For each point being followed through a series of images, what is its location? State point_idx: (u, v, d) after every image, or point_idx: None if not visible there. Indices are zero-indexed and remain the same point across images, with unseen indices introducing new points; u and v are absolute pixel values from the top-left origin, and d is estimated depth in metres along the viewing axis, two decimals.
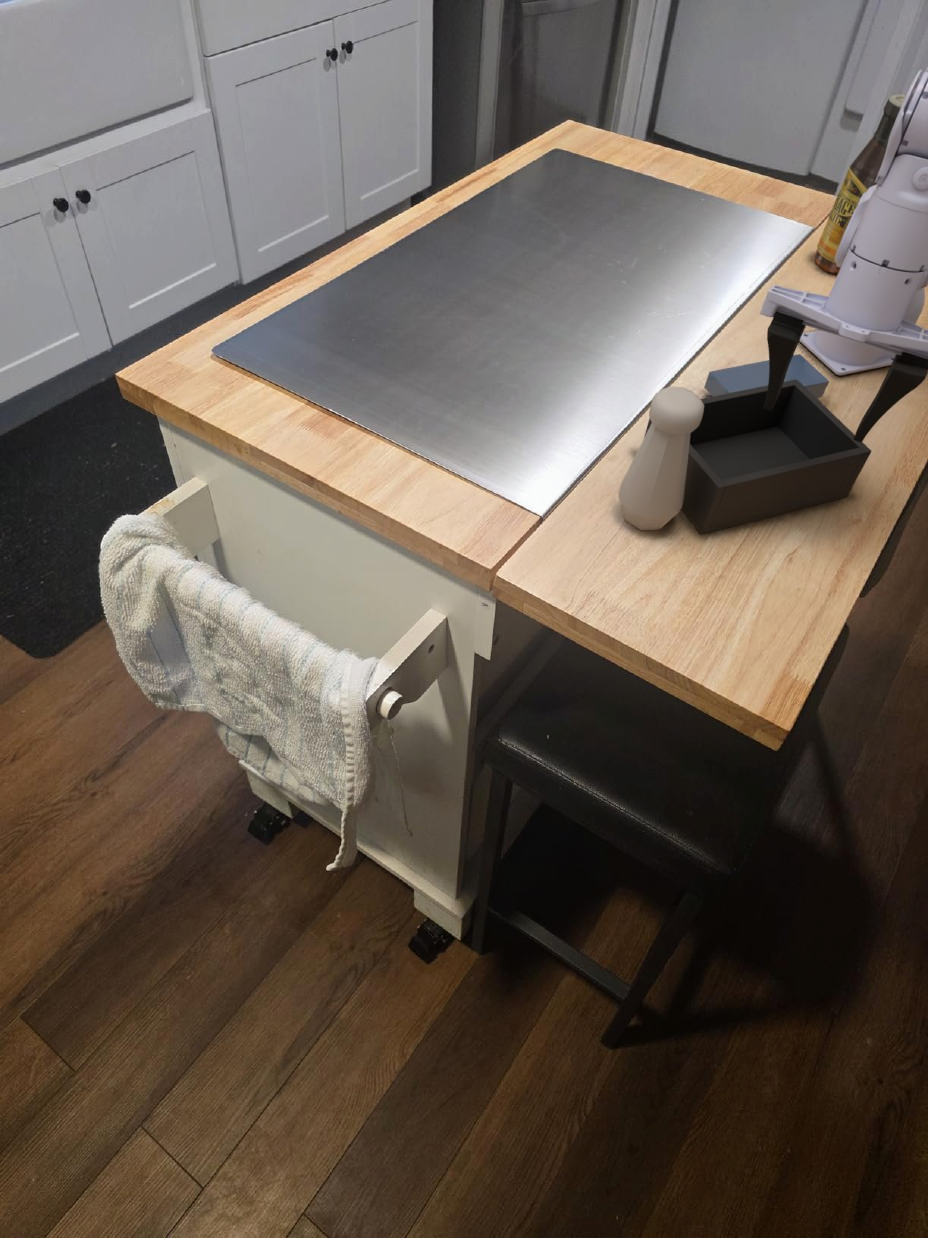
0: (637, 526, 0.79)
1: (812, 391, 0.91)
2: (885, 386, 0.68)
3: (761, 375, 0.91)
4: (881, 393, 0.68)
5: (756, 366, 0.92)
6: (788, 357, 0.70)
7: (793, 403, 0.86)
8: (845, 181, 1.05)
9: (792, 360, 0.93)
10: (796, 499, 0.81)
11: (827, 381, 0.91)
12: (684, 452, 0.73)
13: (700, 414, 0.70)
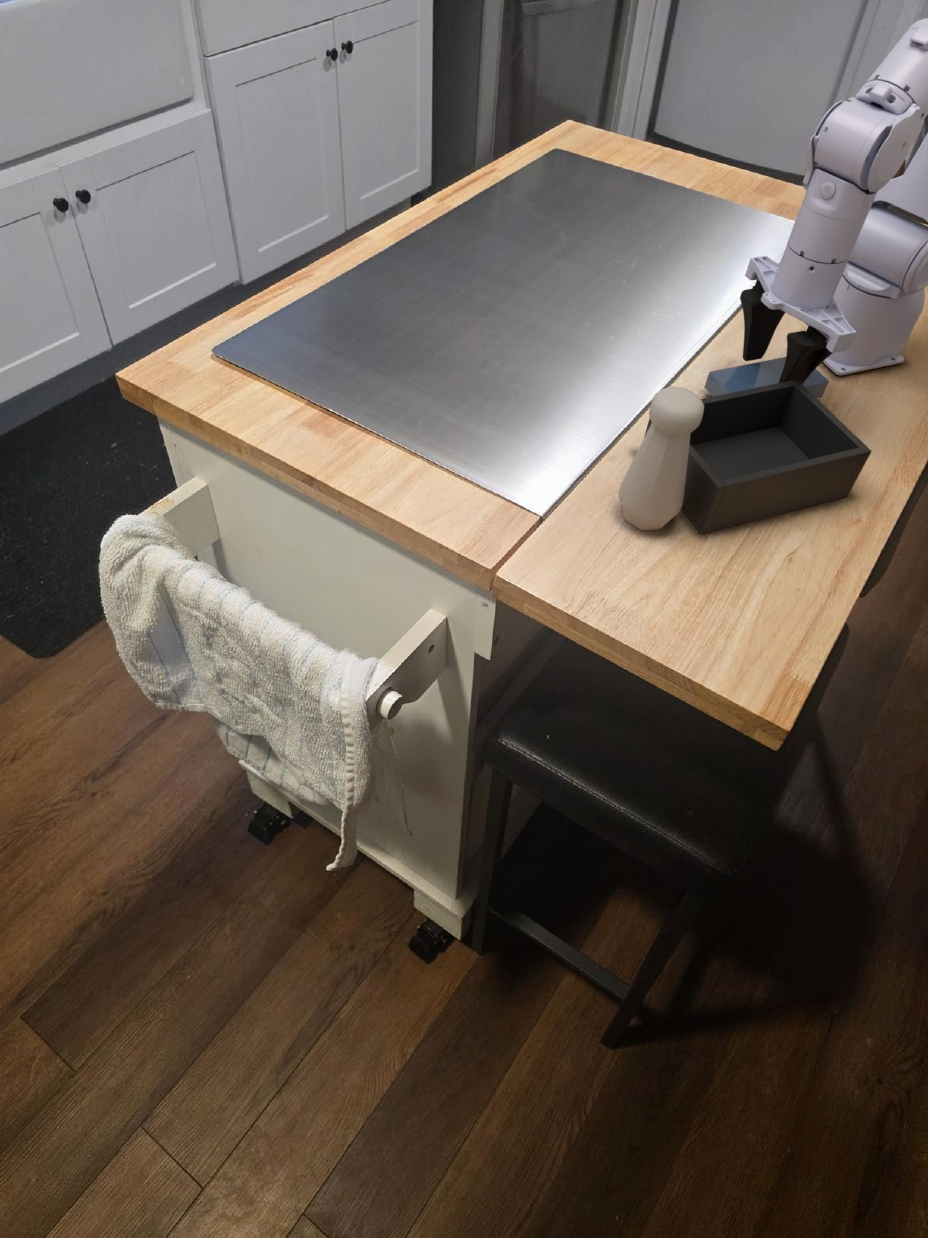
0: (637, 526, 0.79)
1: (812, 391, 0.91)
2: (787, 349, 0.84)
3: (761, 375, 0.91)
4: (787, 354, 0.85)
5: (756, 366, 0.92)
6: (751, 317, 0.88)
7: (793, 403, 0.86)
8: None
9: None
10: (796, 499, 0.81)
11: (827, 381, 0.91)
12: (684, 452, 0.73)
13: (700, 414, 0.70)
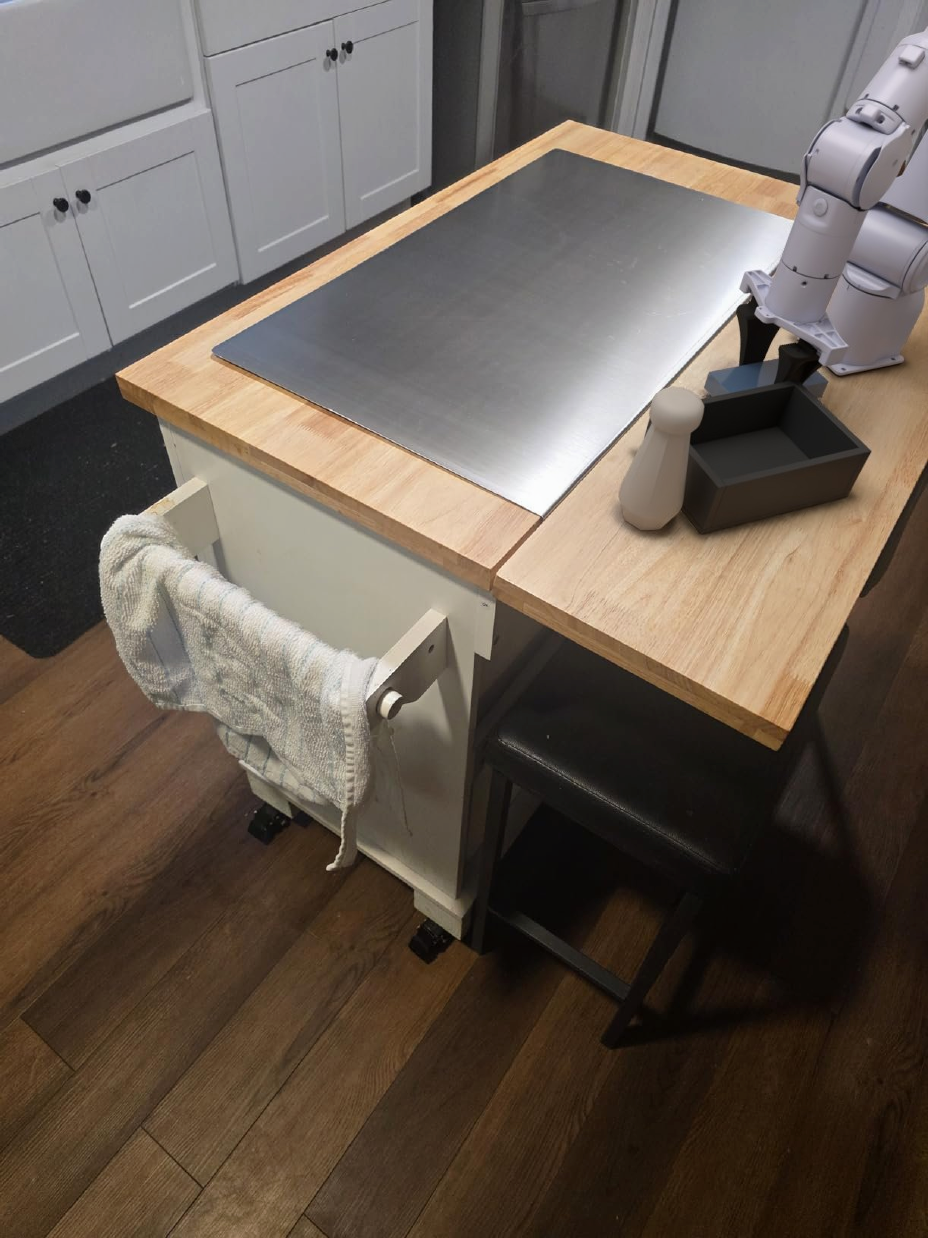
0: (637, 526, 0.79)
1: (812, 391, 0.91)
2: (779, 360, 0.85)
3: (760, 375, 0.91)
4: (778, 366, 0.86)
5: (756, 366, 0.92)
6: (747, 331, 0.89)
7: (793, 403, 0.86)
8: None
9: None
10: (796, 499, 0.81)
11: (827, 381, 0.91)
12: (684, 452, 0.73)
13: (700, 414, 0.70)
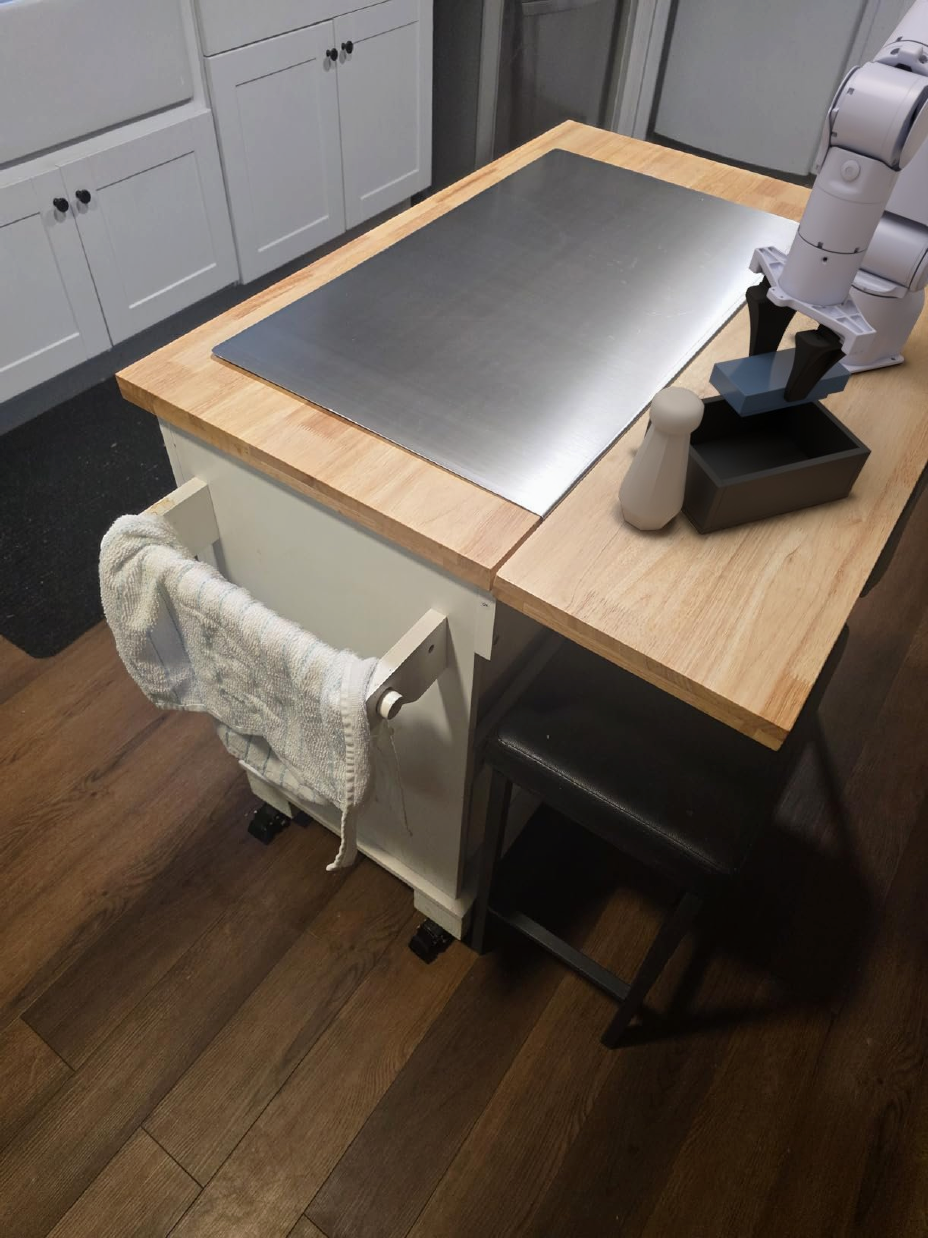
0: (637, 526, 0.79)
1: (832, 385, 0.80)
2: (795, 350, 0.74)
3: (773, 367, 0.80)
4: (795, 356, 0.75)
5: (768, 357, 0.81)
6: (758, 317, 0.78)
7: None
8: None
9: None
10: (796, 499, 0.81)
11: (849, 373, 0.80)
12: (684, 452, 0.73)
13: (700, 414, 0.70)
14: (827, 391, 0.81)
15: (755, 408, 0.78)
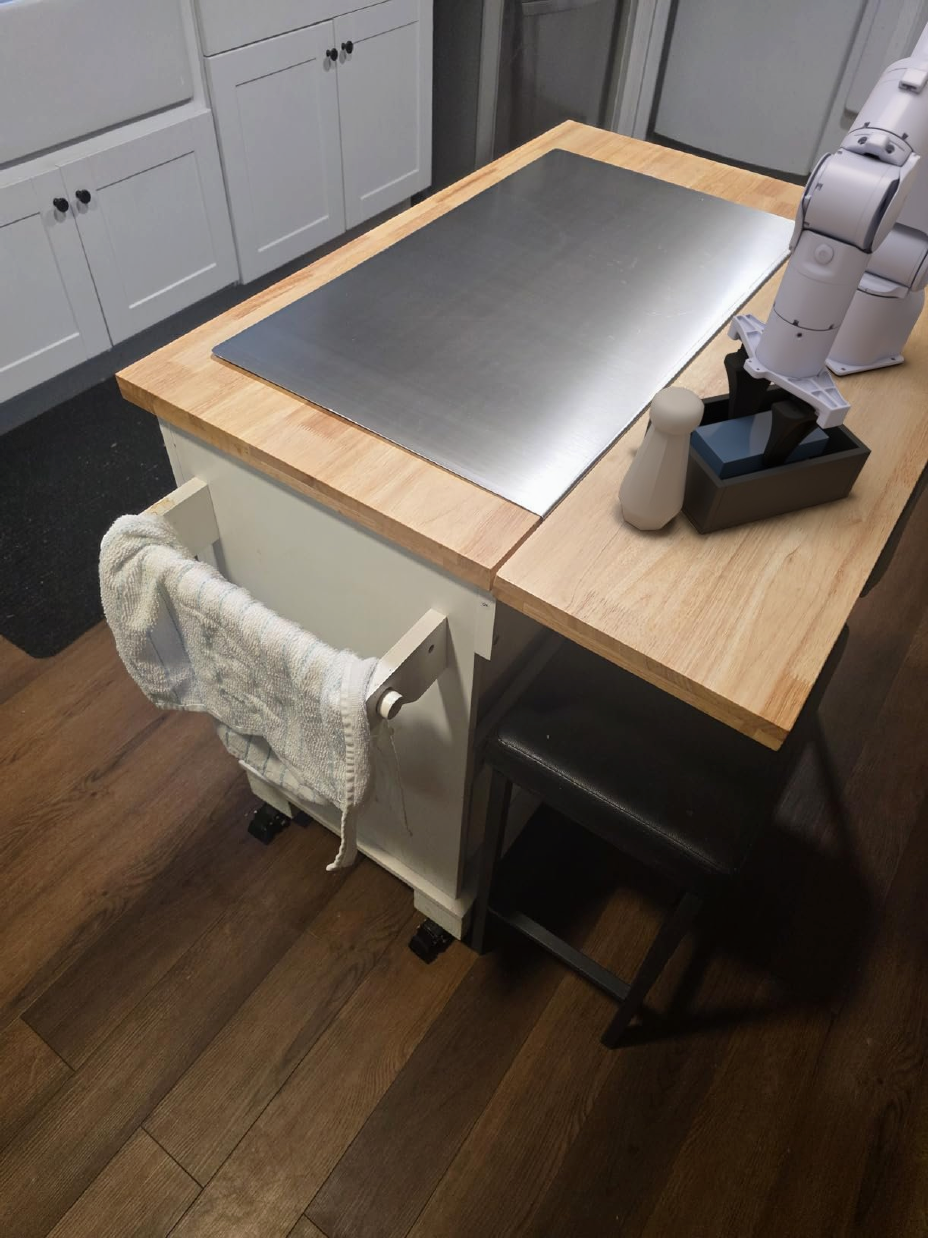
0: (637, 526, 0.79)
1: (810, 449, 0.81)
2: (772, 419, 0.75)
3: (752, 432, 0.81)
4: (772, 425, 0.76)
5: (747, 421, 0.82)
6: (736, 384, 0.79)
7: None
8: None
9: None
10: (796, 499, 0.81)
11: (827, 437, 0.81)
12: (684, 452, 0.73)
13: (700, 414, 0.70)
14: (805, 454, 0.82)
15: (734, 473, 0.80)
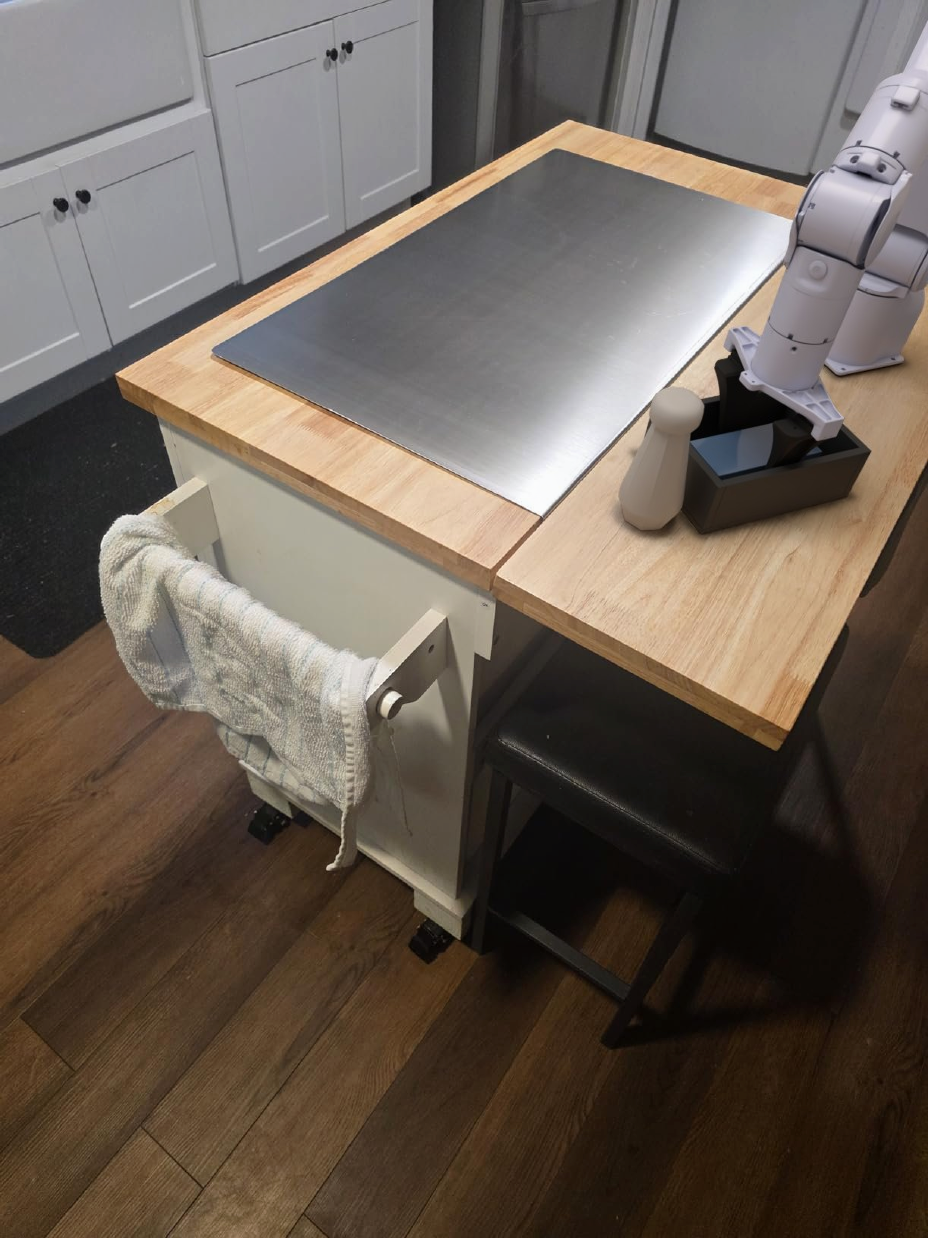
0: (637, 526, 0.79)
1: None
2: (773, 437, 0.76)
3: (747, 445, 0.82)
4: (773, 442, 0.76)
5: (742, 434, 0.83)
6: (726, 389, 0.80)
7: None
8: None
9: None
10: (796, 499, 0.81)
11: (820, 451, 0.82)
12: (684, 452, 0.73)
13: (700, 414, 0.70)
14: None
15: None
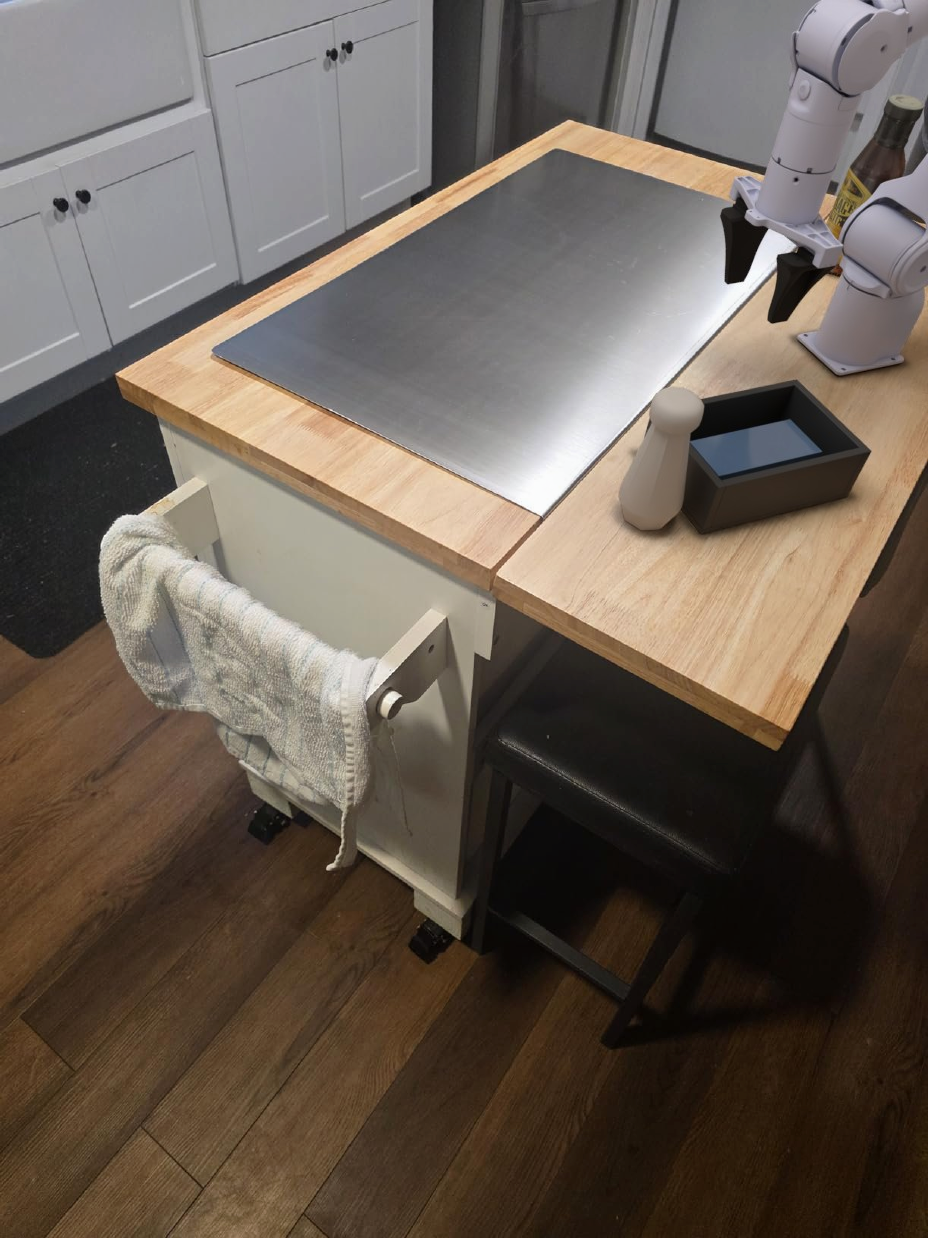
0: (637, 526, 0.79)
1: None
2: (777, 271, 0.81)
3: (747, 445, 0.82)
4: (777, 278, 0.82)
5: (742, 434, 0.83)
6: (732, 235, 0.86)
7: (793, 403, 0.86)
8: (845, 181, 1.05)
9: (781, 427, 0.84)
10: (796, 499, 0.81)
11: (820, 451, 0.82)
12: (684, 452, 0.73)
13: (700, 414, 0.70)
14: None
15: None
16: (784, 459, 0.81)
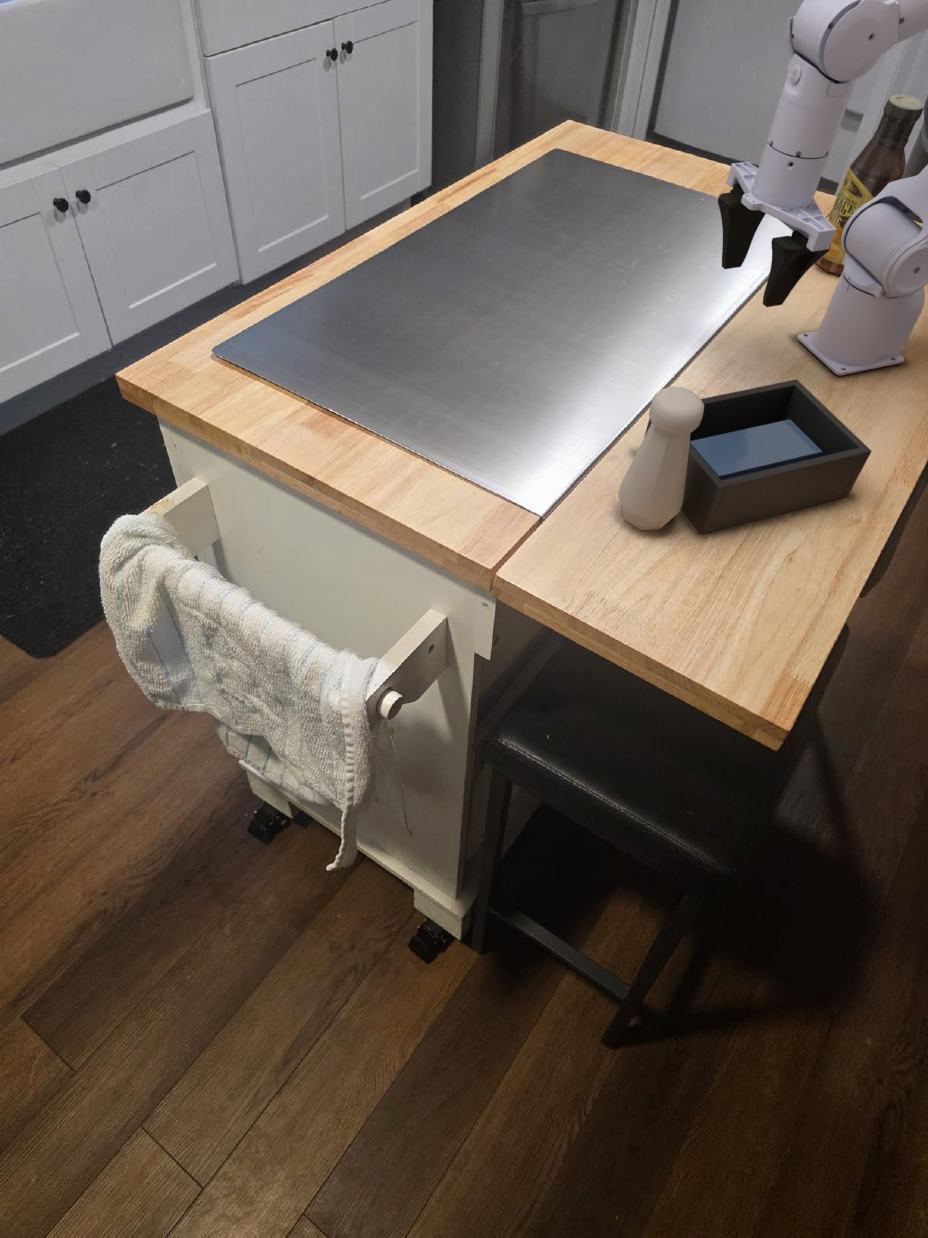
0: (637, 526, 0.79)
1: None
2: (772, 255, 0.83)
3: (747, 445, 0.82)
4: (772, 261, 0.84)
5: (742, 434, 0.83)
6: (729, 220, 0.88)
7: (793, 403, 0.86)
8: (845, 181, 1.05)
9: (781, 427, 0.84)
10: (796, 499, 0.81)
11: (820, 451, 0.82)
12: (684, 452, 0.73)
13: (700, 414, 0.70)
14: None
15: None
16: (784, 459, 0.81)
